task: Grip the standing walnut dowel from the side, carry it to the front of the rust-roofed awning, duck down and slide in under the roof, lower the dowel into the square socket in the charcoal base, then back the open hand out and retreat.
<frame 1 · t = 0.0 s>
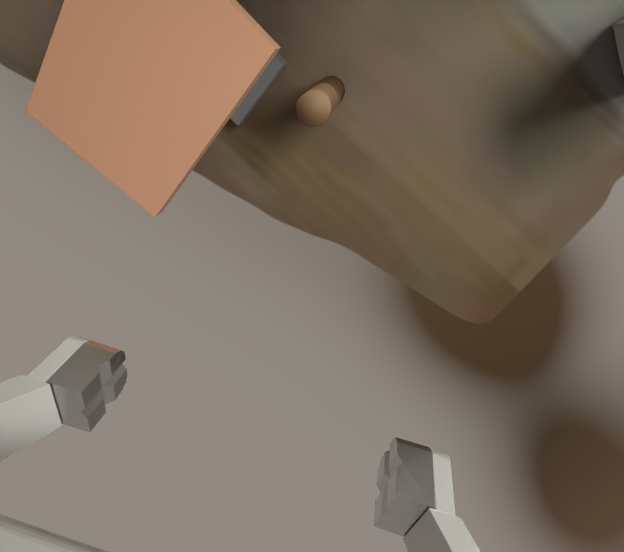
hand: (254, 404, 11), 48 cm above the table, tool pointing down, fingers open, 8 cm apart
awning: (236, 65, 51), on the table
peg: (331, 91, 51), on the table
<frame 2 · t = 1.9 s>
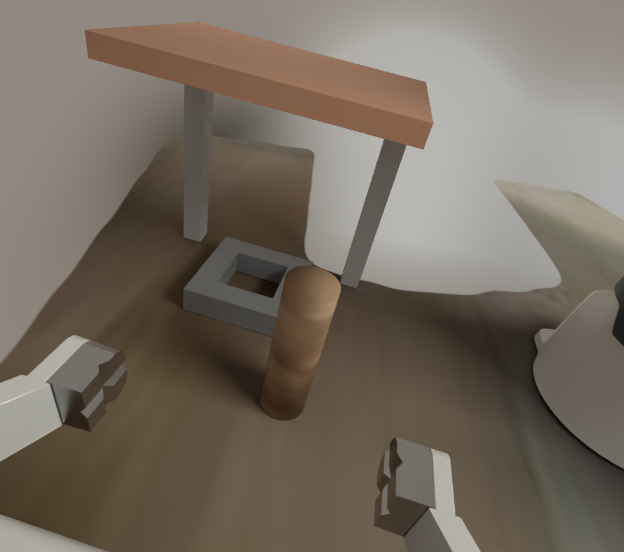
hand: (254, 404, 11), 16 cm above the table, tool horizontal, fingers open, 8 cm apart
awning: (251, 293, 40), on the table
peg: (282, 400, 31), on the table
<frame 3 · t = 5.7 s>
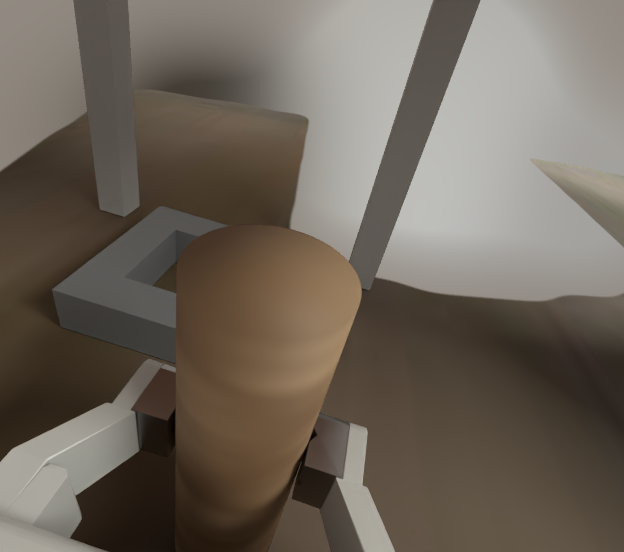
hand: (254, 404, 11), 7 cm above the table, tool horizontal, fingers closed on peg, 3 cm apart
awning: (195, 297, 24), on the table
peg: (224, 528, 14), on the table, touching gripper
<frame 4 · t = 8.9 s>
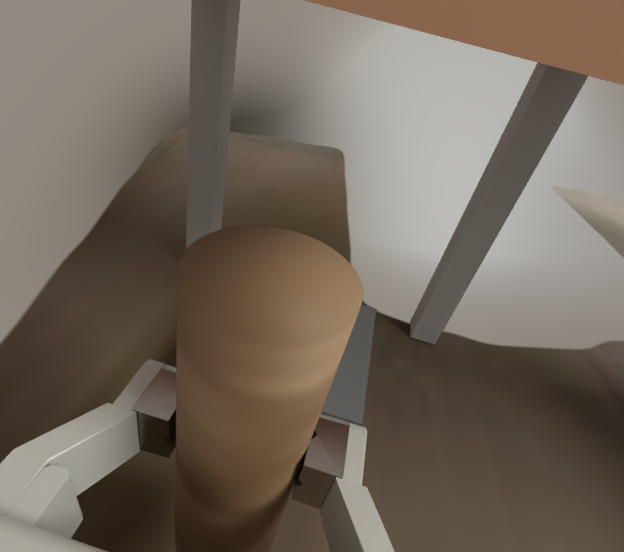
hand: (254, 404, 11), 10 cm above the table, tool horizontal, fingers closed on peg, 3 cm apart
awning: (289, 359, 27), on the table
peg: (225, 530, 14), point 4 cm above the table, touching gripper
when the fingers open (8 cm above the table, at t = 12.1 s): peg stays where it is, resting in awning.
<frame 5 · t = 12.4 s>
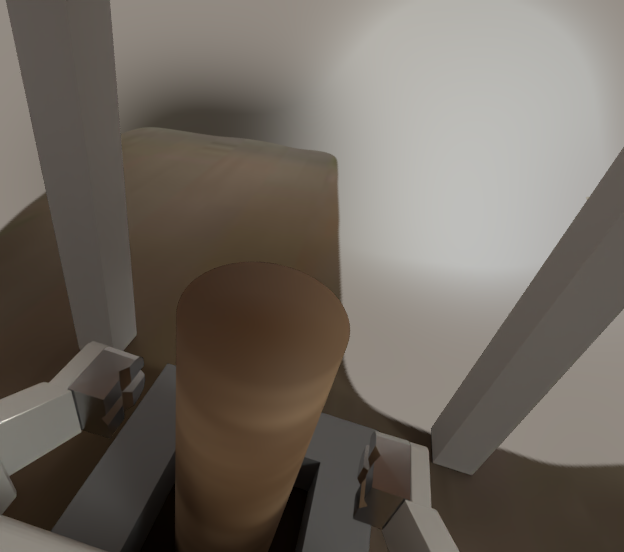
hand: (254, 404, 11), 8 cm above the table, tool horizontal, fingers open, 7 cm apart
awning: (224, 539, 15), on the table
peg: (223, 540, 15), resting in awning
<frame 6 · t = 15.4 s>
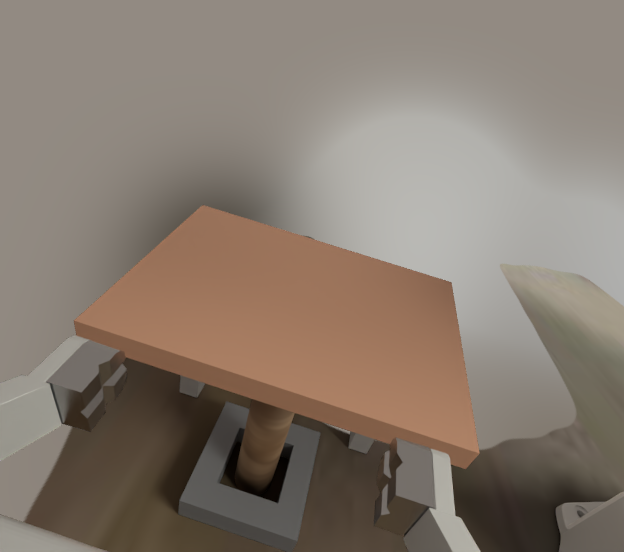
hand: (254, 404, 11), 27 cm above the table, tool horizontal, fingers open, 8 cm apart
awning: (253, 476, 37), on the table
peg: (253, 476, 37), resting in awning
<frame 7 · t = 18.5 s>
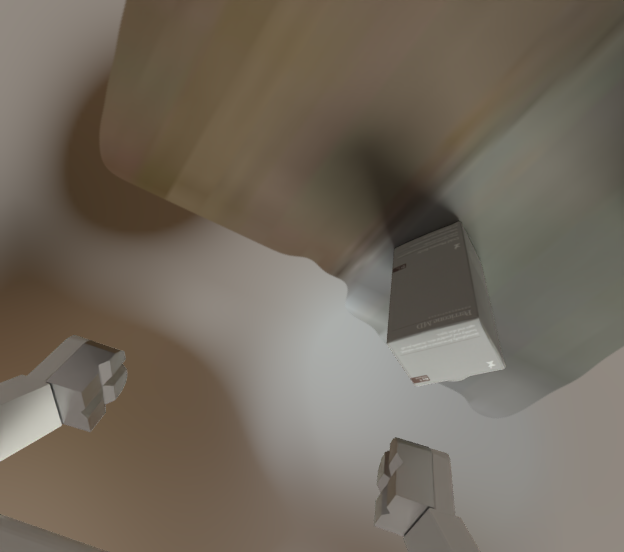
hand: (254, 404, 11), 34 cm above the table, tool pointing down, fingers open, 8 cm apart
skincare box: (436, 257, 46), on the table
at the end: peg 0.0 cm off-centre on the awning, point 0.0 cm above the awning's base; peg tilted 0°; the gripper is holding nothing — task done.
